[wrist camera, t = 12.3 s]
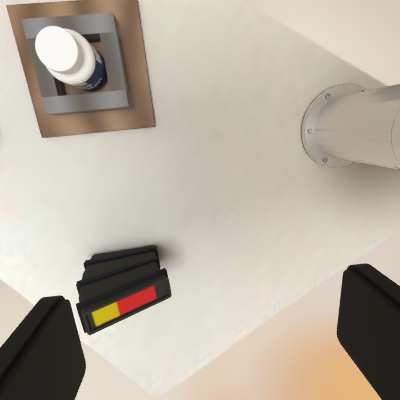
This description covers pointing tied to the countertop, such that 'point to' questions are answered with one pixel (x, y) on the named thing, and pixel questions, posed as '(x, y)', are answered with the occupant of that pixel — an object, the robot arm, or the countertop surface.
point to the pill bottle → (71, 58)
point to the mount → (114, 61)
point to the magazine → (120, 287)
